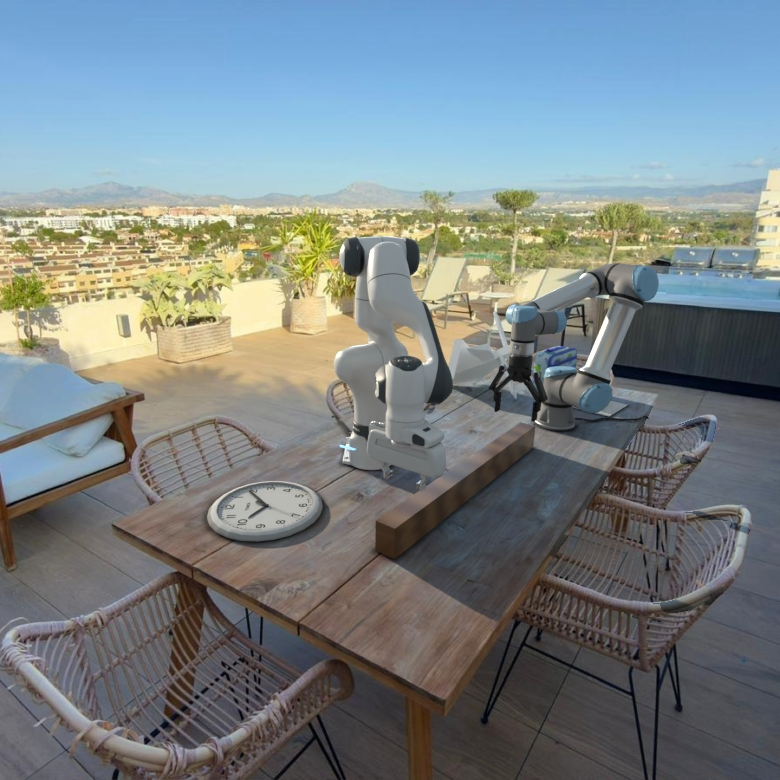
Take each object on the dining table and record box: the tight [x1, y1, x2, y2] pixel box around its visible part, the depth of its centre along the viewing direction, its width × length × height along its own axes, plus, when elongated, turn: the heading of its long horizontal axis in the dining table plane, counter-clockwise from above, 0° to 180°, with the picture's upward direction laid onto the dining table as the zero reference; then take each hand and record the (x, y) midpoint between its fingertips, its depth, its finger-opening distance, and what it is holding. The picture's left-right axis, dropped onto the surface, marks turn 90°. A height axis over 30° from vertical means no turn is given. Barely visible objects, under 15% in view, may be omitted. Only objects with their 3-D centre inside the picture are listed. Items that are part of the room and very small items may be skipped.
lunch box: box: [532, 345, 578, 391], centre depth 244 cm, size 26×11×21 cm, turn 135°
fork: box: [423, 403, 431, 411], centre depth 223 cm, size 3×16×2 cm, turn 160°
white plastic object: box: [448, 310, 531, 400], centre depth 245 cm, size 37×45×31 cm
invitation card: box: [573, 400, 629, 418], centre depth 226 cm, size 21×1×15 cm
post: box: [374, 422, 536, 560], centre depth 152 cm, size 82×6×8 cm, turn 143°
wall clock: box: [206, 480, 324, 543], centre depth 140 cm, size 30×2×30 cm
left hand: (404, 483), depth 122 cm, fingers open, 8 cm apart
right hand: (515, 415), depth 176 cm, fingers open, 13 cm apart
